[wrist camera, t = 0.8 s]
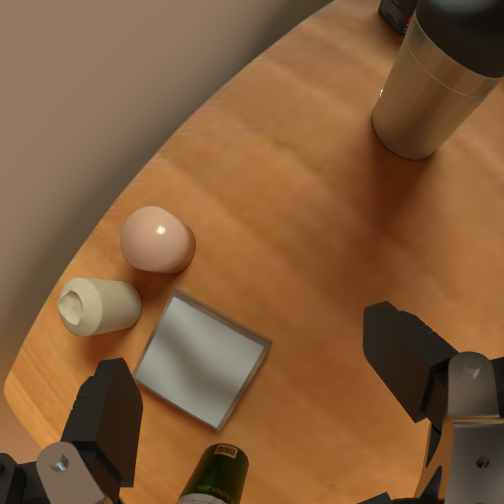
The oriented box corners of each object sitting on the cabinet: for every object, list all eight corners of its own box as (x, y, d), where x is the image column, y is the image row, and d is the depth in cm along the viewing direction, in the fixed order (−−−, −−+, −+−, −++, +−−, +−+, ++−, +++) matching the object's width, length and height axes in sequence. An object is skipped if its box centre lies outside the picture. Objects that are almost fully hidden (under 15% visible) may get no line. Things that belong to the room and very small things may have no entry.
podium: (181, 290, 33) (171, 289, 30) (272, 340, 31) (271, 345, 28) (140, 372, 32) (129, 378, 29) (224, 422, 31) (218, 433, 28)
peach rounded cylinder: (161, 211, 34) (139, 196, 28) (205, 234, 33) (189, 222, 28) (137, 258, 34) (110, 251, 28) (179, 283, 33) (158, 282, 27)
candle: (99, 319, 34) (44, 326, 24) (108, 275, 34) (54, 269, 24) (137, 335, 33) (87, 348, 23) (147, 288, 33) (98, 286, 23)
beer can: (202, 438, 31) (168, 494, 19) (249, 442, 30) (232, 504, 18) (205, 473, 30) (175, 533, 18) (249, 477, 29) (234, 542, 18)
